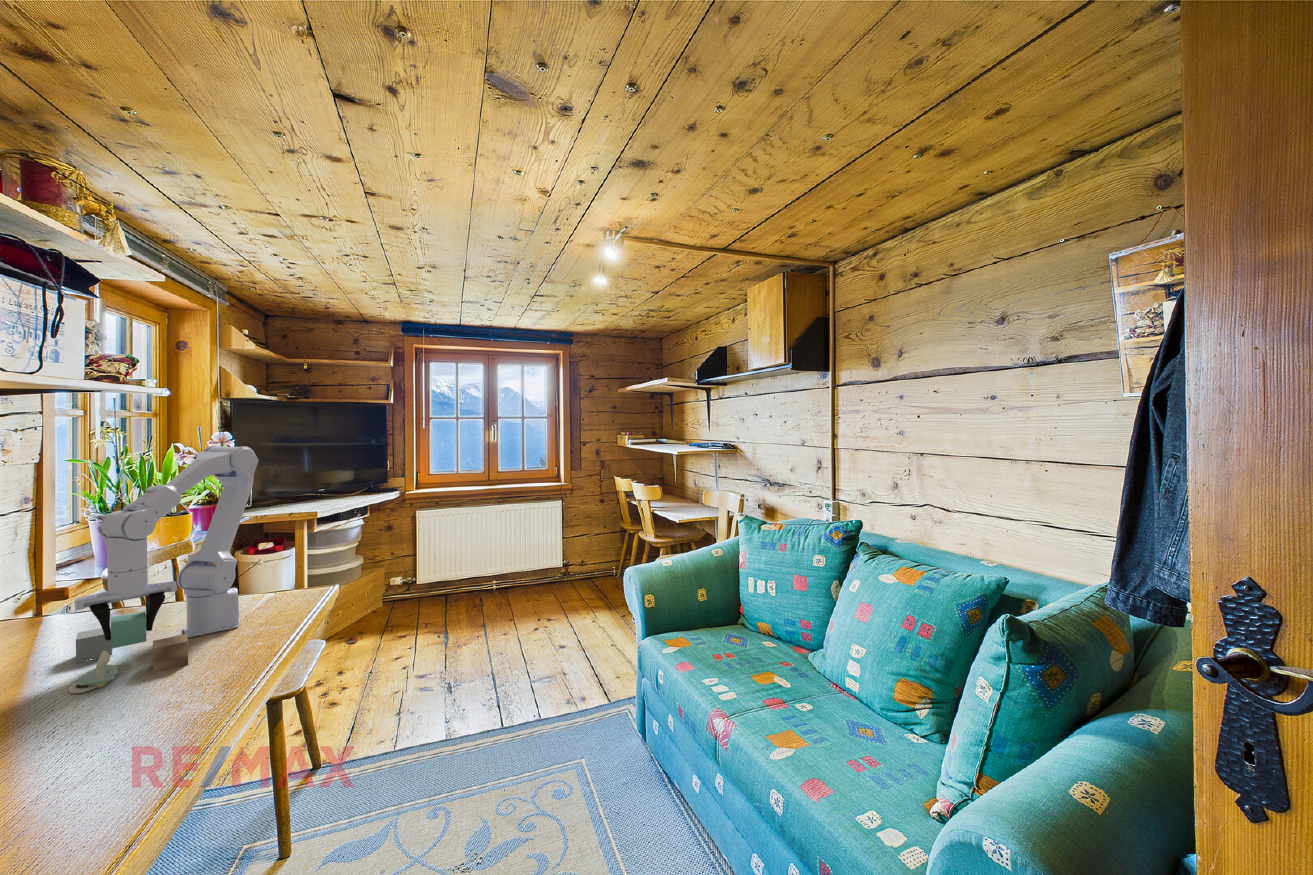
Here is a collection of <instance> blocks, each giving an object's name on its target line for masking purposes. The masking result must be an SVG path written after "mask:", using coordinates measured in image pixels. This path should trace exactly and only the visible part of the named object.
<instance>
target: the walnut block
mask: <svg viewBox="0 0 1313 875" xmlns="http://www.w3.org/2000/svg"><path fill="white" fill-rule="evenodd" d="M188 639H189V638H187V635H186V634H185V633H184V634H179V635H174V636H170V637H168V636H167V637H164V638H160V639H155V640H154V639H153V640H152V654H153V655H152V665H153V666H152V667H153V674H156V673H160V672H161V673H162V672H164V671H168V669H169V670H172V669H171V668H173V669H177V668H181V667H184V666H189V640H188Z"/></svg>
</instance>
